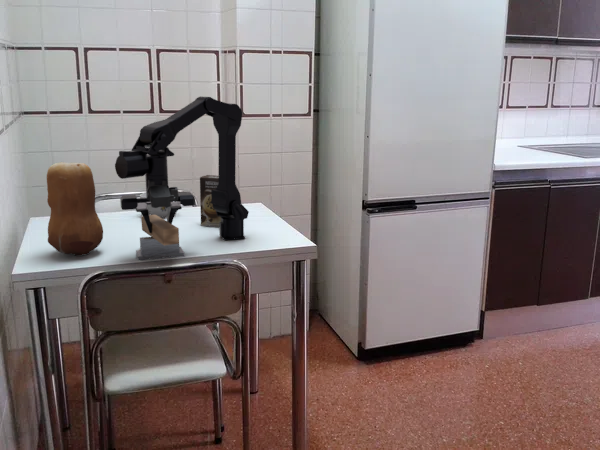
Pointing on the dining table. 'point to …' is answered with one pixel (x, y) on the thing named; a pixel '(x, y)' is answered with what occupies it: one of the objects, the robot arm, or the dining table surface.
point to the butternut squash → (72, 209)
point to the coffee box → (208, 201)
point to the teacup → (155, 211)
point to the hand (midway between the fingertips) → (159, 232)
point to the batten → (161, 230)
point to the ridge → (157, 249)
